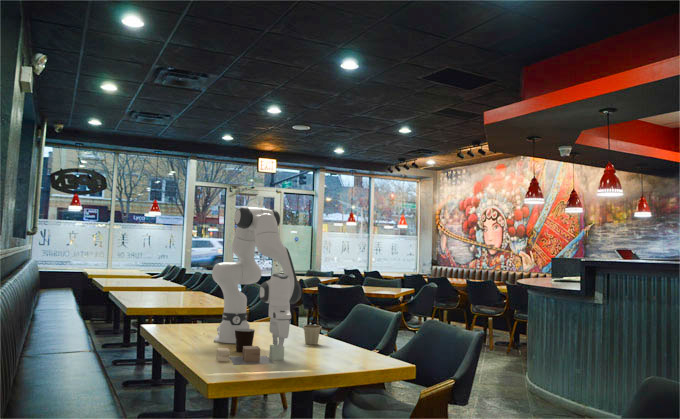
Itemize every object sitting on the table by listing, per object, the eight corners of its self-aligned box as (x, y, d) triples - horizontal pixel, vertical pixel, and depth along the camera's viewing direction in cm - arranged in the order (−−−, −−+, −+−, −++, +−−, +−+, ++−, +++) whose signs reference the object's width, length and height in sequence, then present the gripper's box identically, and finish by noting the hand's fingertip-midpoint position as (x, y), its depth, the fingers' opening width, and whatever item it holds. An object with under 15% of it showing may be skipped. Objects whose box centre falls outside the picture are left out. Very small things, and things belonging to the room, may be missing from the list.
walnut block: (242, 358, 215) (243, 346, 215) (256, 358, 217) (257, 346, 217) (244, 361, 209) (245, 349, 210) (259, 361, 211) (260, 348, 212)
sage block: (269, 359, 220) (270, 344, 221) (280, 359, 222) (281, 344, 222) (271, 361, 215) (272, 346, 216) (283, 361, 217) (284, 346, 218)
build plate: (228, 358, 218) (228, 356, 218) (266, 357, 223) (266, 355, 223) (233, 366, 203) (233, 364, 203) (274, 365, 208) (274, 363, 208)
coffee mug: (249, 355, 227) (250, 331, 228) (230, 353, 228) (231, 330, 229) (258, 350, 238) (259, 328, 239) (240, 349, 240) (242, 327, 241)
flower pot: (320, 345, 257) (321, 327, 258) (301, 345, 257) (302, 327, 258) (321, 342, 267) (322, 325, 267) (302, 341, 267) (303, 324, 267)
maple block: (216, 361, 213) (217, 348, 213) (227, 360, 214) (228, 348, 215) (217, 363, 209) (218, 350, 209) (229, 363, 210) (229, 350, 210)
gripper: (266, 310, 229) (265, 342, 228) (277, 315, 210) (275, 350, 208) (280, 310, 231) (279, 342, 230) (292, 315, 212) (291, 350, 210)
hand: (277, 346), depth 219 cm, fingers open, 8 cm apart
